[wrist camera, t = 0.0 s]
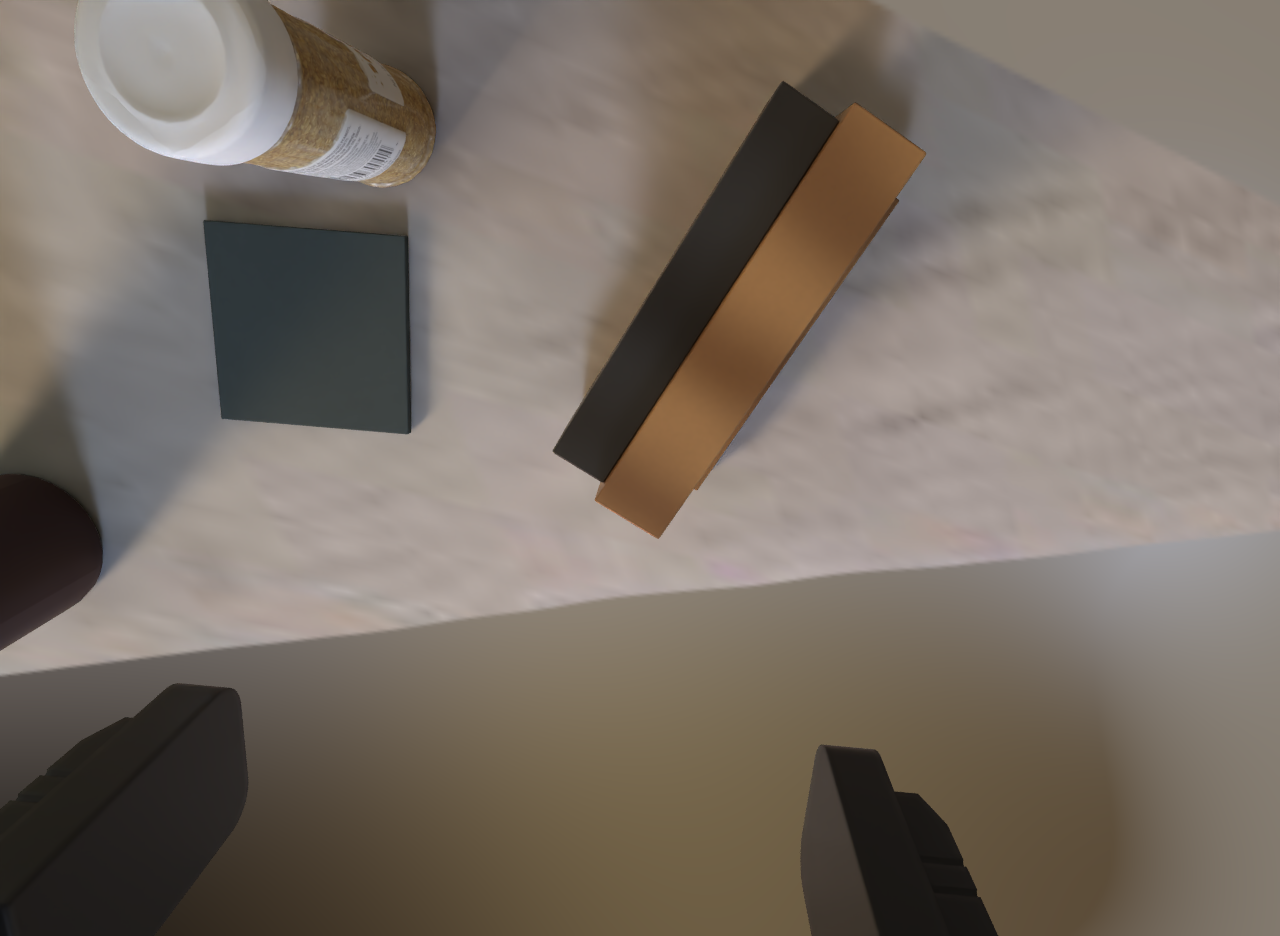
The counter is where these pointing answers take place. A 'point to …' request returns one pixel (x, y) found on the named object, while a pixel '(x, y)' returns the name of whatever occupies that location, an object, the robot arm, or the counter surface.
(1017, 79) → the counter surface
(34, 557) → the wine bottle
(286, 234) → the mat
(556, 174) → the counter surface
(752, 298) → the magnetic knife rack
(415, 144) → the sprinkles bottle
